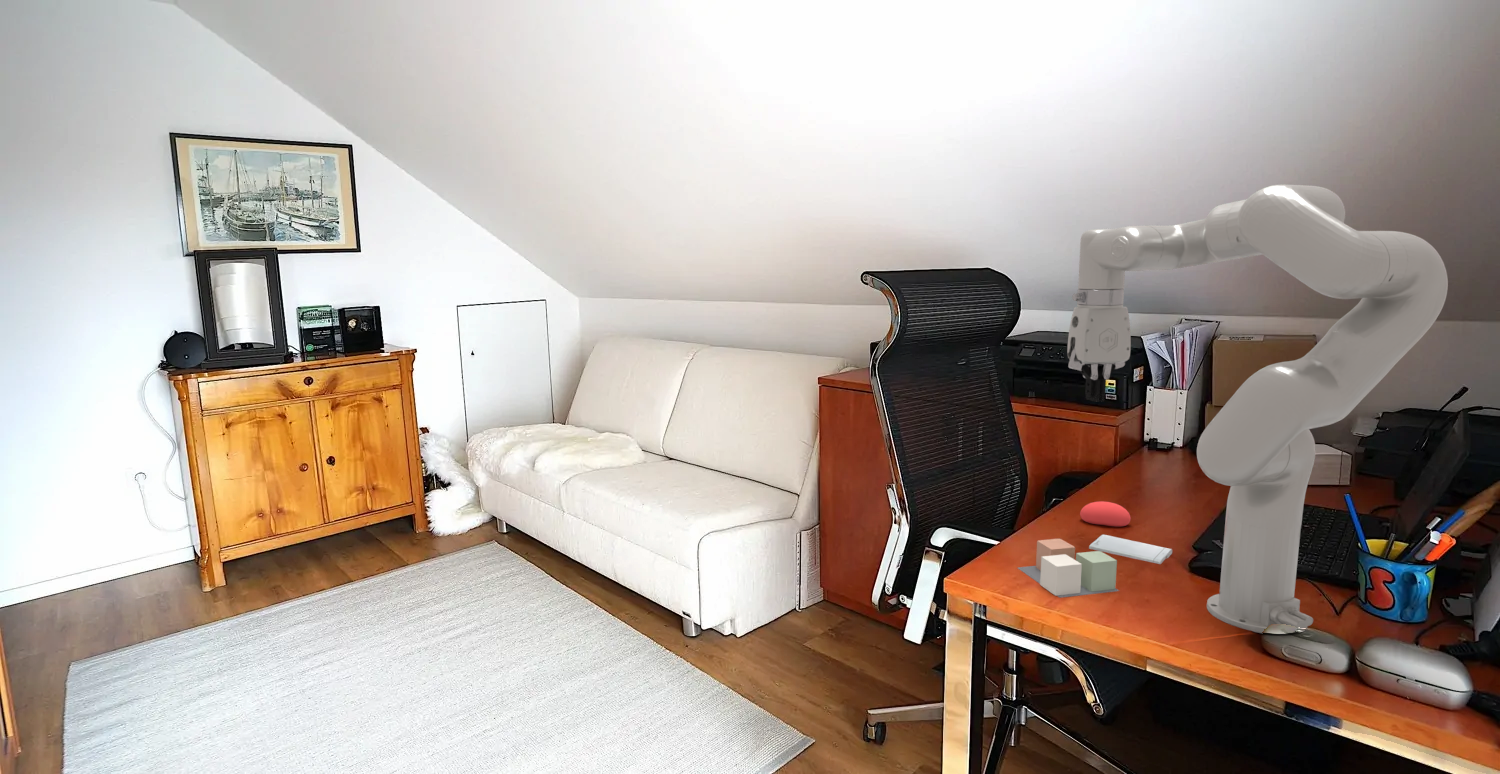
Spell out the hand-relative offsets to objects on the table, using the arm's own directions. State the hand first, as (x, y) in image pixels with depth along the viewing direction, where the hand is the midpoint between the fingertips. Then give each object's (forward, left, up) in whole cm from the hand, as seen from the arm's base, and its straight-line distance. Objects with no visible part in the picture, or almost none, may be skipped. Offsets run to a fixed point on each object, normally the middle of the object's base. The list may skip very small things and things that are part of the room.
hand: (1094, 400), depth 144 cm
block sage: (-14, +9, -29) cm, 33 cm away
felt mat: (-11, +12, -29) cm, 33 cm away
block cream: (-14, +15, -29) cm, 35 cm away
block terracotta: (-8, +12, -29) cm, 32 cm away
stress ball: (+13, -13, -30) cm, 35 cm away
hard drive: (-2, -8, -30) cm, 31 cm away
